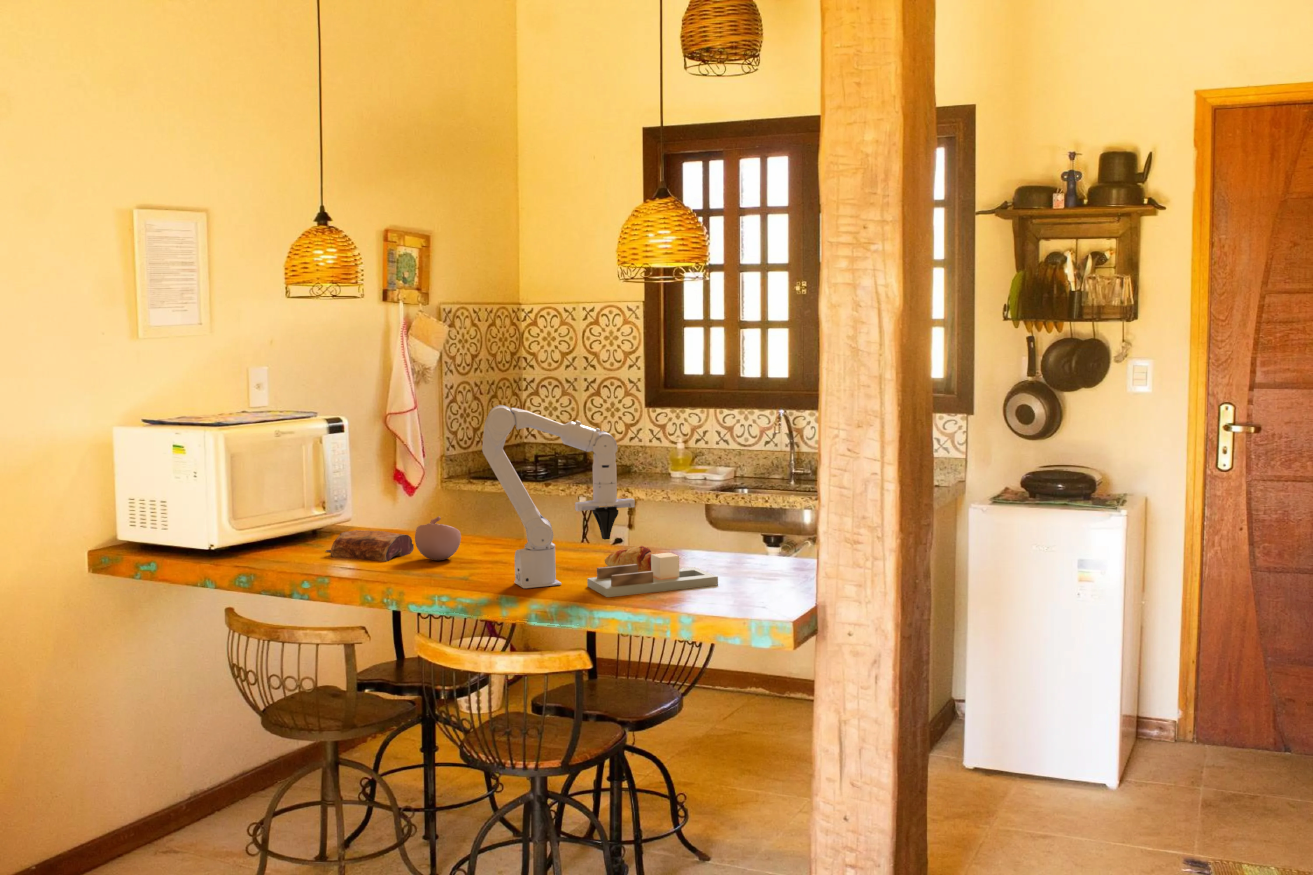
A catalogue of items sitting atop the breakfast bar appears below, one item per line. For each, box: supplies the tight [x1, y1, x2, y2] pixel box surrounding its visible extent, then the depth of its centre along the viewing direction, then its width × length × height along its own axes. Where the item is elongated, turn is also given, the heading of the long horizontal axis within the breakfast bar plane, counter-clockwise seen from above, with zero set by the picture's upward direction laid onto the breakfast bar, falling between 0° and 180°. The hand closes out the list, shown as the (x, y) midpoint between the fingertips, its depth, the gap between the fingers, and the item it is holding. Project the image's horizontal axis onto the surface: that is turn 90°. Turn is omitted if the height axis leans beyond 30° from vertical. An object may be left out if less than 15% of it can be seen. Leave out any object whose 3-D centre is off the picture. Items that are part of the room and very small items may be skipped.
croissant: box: [604, 545, 655, 572], centre depth 320 cm, size 21×10×8 cm, turn 52°
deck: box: [586, 566, 719, 598], centre depth 302 cm, size 28×13×2 cm, turn 113°
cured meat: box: [325, 529, 415, 562], centre depth 351 cm, size 18×25×7 cm
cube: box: [651, 552, 680, 579], centre depth 303 cm, size 5×5×5 cm
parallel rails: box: [596, 564, 653, 587], centre depth 299 cm, size 10×11×2 cm
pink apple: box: [414, 516, 462, 561], centre depth 339 cm, size 12×12×11 cm
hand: (605, 538), depth 307 cm, fingers closed
